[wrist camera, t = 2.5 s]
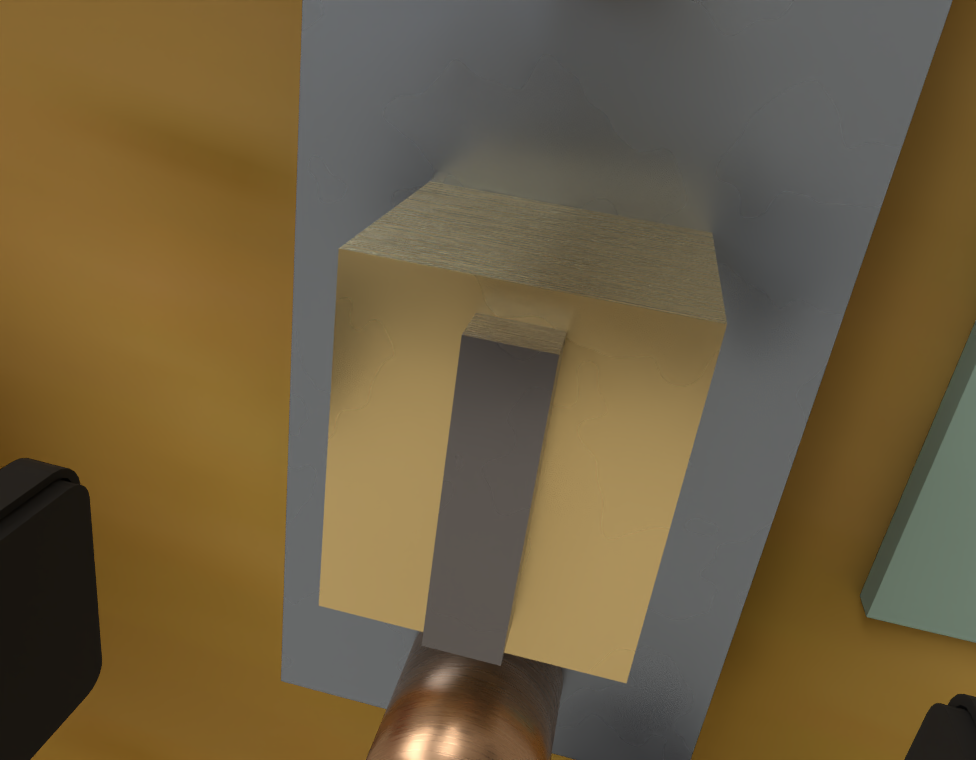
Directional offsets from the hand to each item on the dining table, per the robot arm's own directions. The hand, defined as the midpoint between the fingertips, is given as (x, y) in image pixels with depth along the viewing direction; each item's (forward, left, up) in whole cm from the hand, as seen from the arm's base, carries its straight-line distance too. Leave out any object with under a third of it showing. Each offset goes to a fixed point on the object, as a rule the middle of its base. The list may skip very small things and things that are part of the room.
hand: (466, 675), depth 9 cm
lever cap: (0, 0, -8) cm, 8 cm away
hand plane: (-1, 0, -11) cm, 11 cm away
